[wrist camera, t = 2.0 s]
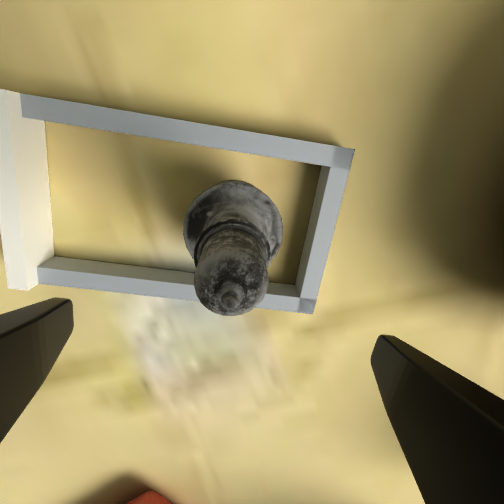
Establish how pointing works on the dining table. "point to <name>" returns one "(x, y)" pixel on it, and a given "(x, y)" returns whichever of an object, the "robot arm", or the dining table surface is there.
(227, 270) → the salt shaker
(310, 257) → the frame
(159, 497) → the plant saucer
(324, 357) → the dining table surface
